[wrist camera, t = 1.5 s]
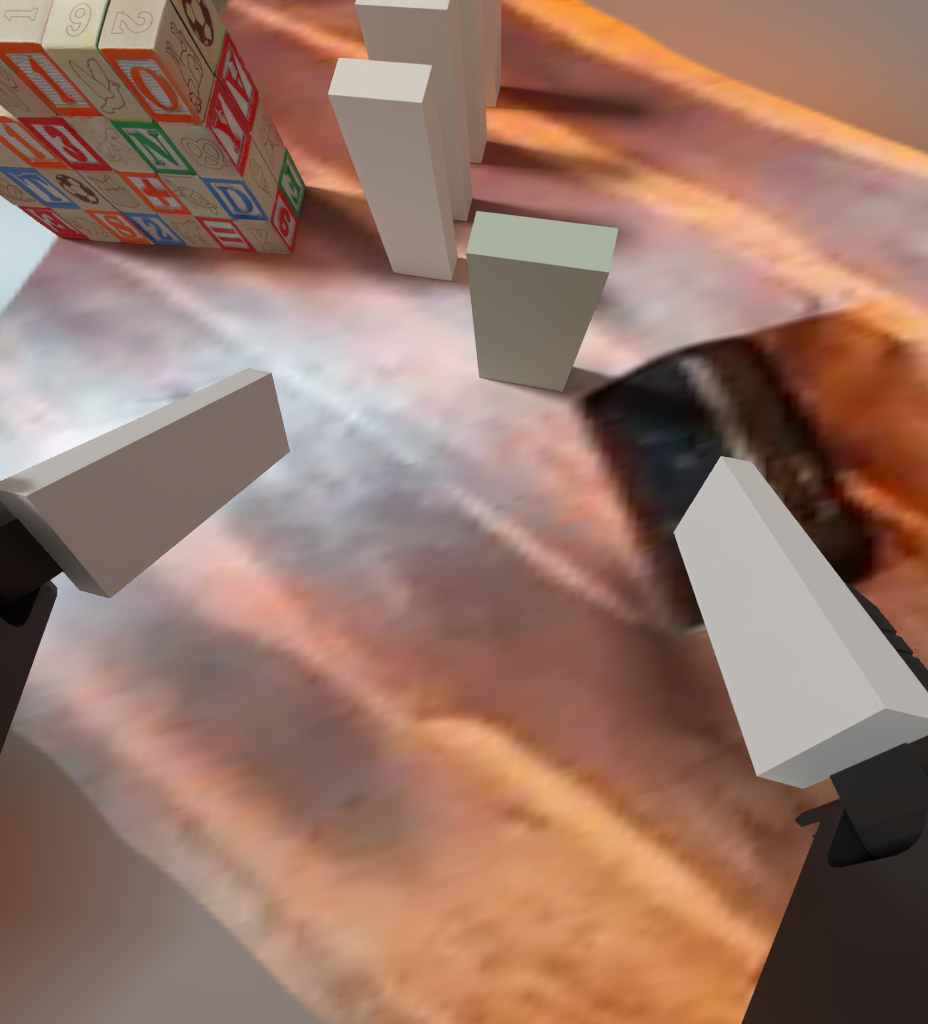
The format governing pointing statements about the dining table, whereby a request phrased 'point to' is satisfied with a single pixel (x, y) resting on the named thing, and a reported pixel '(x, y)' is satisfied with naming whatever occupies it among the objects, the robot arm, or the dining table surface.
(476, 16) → the domino
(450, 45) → the domino
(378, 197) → the domino
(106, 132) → the stack of blocks
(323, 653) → the dining table surface
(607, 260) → the sage domino
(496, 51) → the domino
